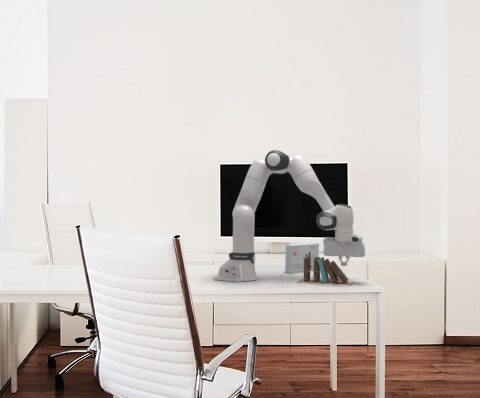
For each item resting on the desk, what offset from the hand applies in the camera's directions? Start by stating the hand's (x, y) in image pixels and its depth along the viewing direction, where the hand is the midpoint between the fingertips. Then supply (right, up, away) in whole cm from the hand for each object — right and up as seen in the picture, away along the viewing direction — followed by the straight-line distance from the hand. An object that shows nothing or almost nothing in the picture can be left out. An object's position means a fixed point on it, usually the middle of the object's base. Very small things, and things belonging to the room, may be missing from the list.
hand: (344, 265), depth 313 cm
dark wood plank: (-17, -9, +6) cm, 20 cm away
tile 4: (-13, -9, +5) cm, 16 cm away
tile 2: (-3, -8, +1) cm, 9 cm away
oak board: (-8, -9, +3) cm, 13 cm away
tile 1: (+1, -8, 0) cm, 8 cm away
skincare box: (-16, -9, +47) cm, 51 cm away
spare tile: (-8, -8, +3) cm, 12 cm away
